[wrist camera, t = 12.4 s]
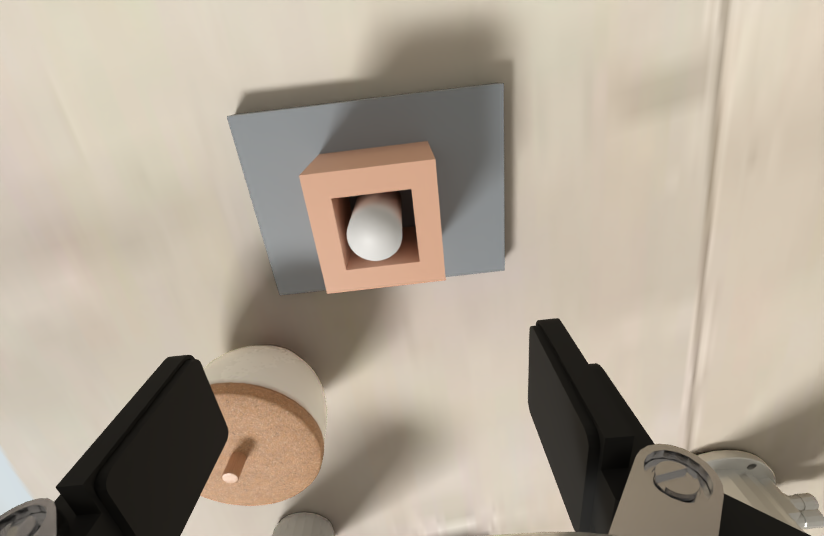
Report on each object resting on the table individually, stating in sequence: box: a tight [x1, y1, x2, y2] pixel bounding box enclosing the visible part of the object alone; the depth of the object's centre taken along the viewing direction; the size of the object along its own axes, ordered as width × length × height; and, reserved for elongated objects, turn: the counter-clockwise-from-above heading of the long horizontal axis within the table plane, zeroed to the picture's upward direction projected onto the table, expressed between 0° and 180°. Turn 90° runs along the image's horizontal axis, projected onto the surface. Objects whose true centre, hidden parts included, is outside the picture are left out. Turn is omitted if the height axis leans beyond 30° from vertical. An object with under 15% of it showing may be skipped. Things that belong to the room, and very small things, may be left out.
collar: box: [299, 141, 446, 294], centre depth 23 cm, size 7×7×6 cm
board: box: [227, 83, 505, 295], centre depth 23 cm, size 16×12×7 cm
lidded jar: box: [200, 345, 327, 506], centre depth 29 cm, size 11×11×9 cm
